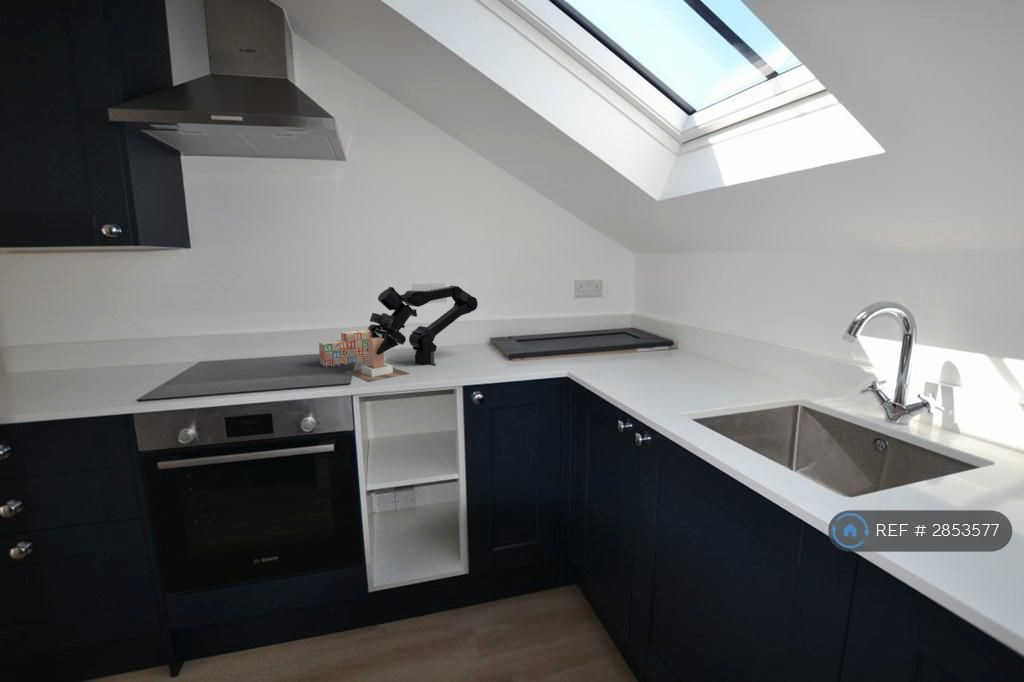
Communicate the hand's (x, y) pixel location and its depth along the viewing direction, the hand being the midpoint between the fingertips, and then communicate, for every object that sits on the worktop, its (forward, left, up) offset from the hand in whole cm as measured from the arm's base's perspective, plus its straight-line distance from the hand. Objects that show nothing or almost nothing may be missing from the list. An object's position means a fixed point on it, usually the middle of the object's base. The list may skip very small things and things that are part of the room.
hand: (372, 352), depth 168 cm
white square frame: (-1, -1, -8) cm, 8 cm away
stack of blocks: (+22, -18, -9) cm, 30 cm away
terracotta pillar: (-1, -1, -8) cm, 8 cm away
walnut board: (-1, -1, -9) cm, 9 cm away
